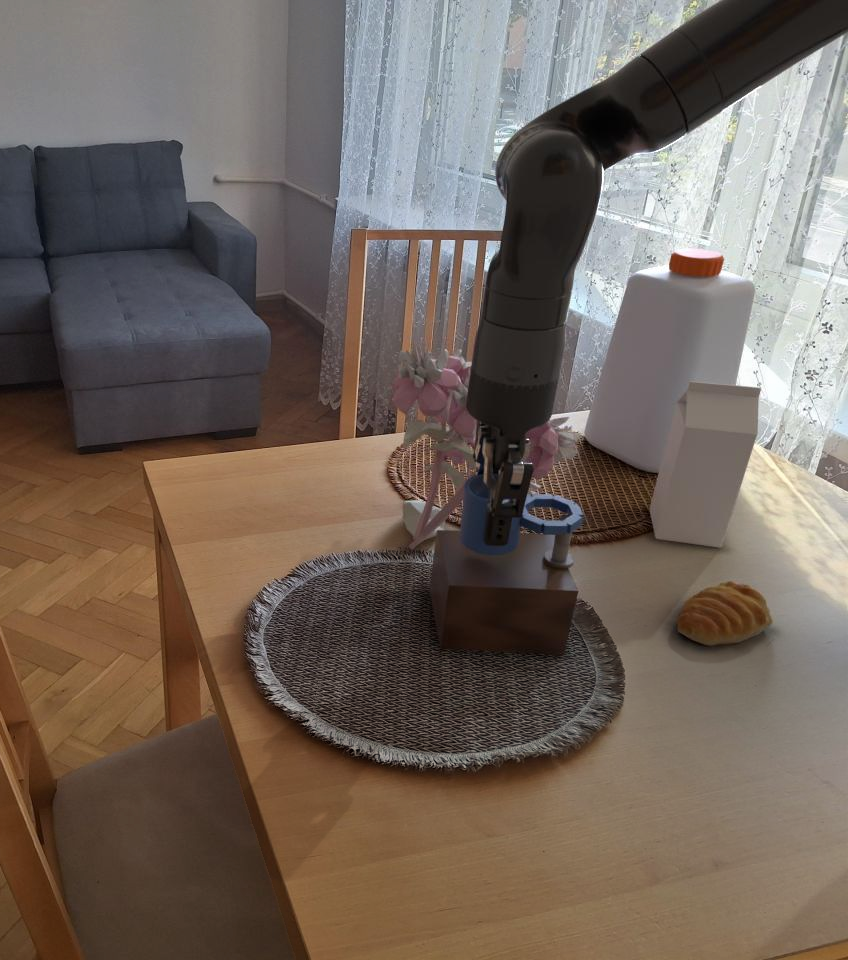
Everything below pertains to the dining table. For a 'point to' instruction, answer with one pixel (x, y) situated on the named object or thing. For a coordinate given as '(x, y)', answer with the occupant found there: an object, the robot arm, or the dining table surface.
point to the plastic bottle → (667, 351)
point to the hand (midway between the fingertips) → (489, 525)
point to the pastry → (724, 615)
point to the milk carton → (704, 462)
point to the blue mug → (477, 512)
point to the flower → (457, 432)
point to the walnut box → (504, 595)
